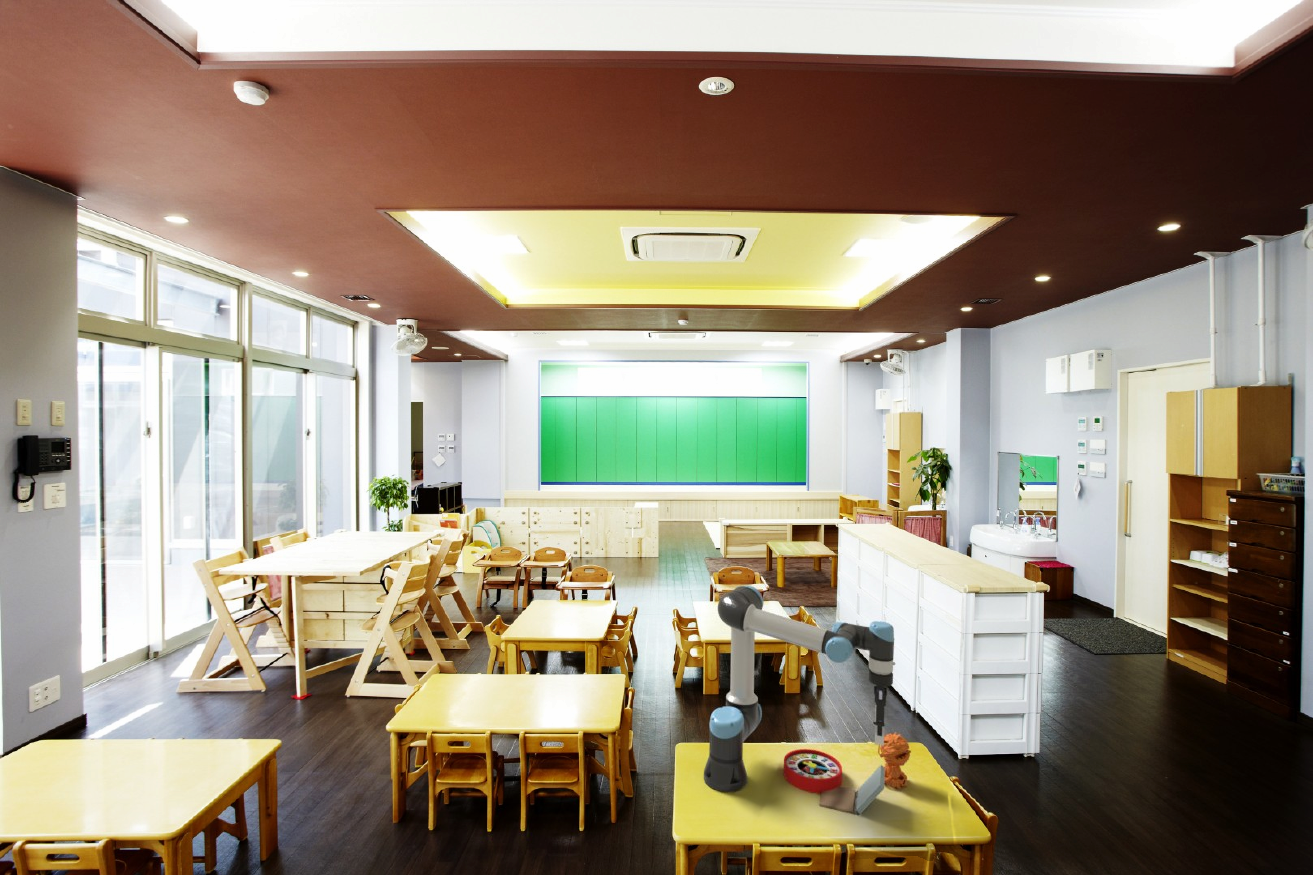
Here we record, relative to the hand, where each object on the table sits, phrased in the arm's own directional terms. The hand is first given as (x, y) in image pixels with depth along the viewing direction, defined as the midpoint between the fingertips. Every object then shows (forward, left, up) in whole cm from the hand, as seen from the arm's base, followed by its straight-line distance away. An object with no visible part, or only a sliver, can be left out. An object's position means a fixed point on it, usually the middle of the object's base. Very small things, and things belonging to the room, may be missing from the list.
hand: (879, 734), depth 205 cm
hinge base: (-12, -3, -24) cm, 27 cm away
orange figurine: (+5, +15, -24) cm, 29 cm away
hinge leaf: (-2, -3, -18) cm, 18 cm away
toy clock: (-22, +8, -24) cm, 33 cm away
